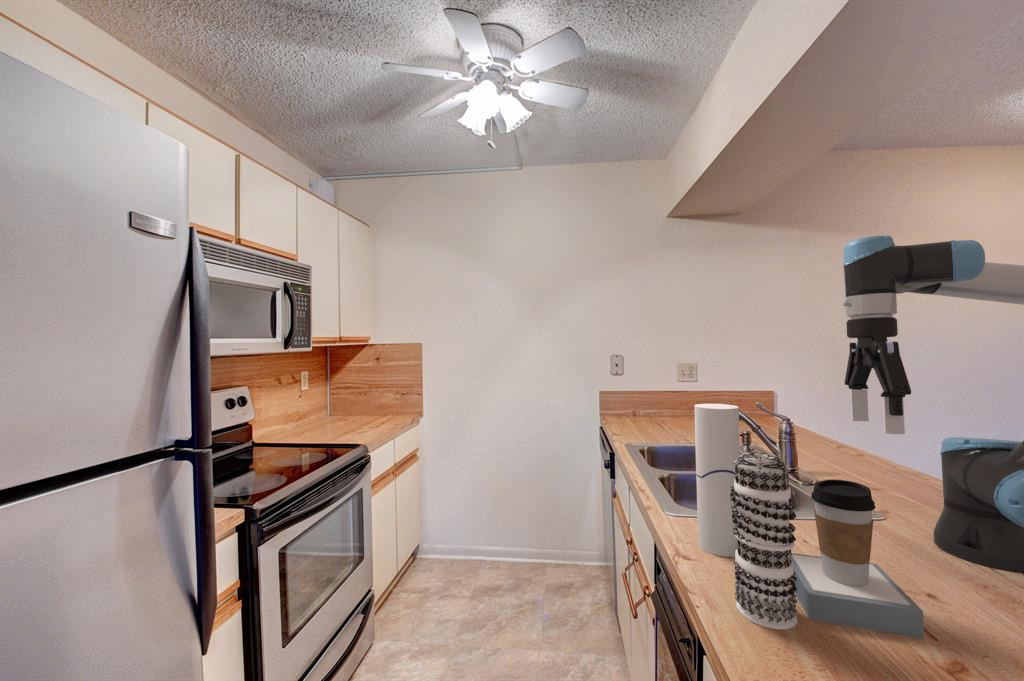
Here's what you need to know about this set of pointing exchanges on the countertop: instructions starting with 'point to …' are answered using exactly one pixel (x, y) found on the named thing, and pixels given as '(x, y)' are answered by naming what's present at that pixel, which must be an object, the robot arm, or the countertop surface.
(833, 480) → the coffee cup
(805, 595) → the podium
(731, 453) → the container
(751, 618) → the decorative candle
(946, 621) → the countertop surface
